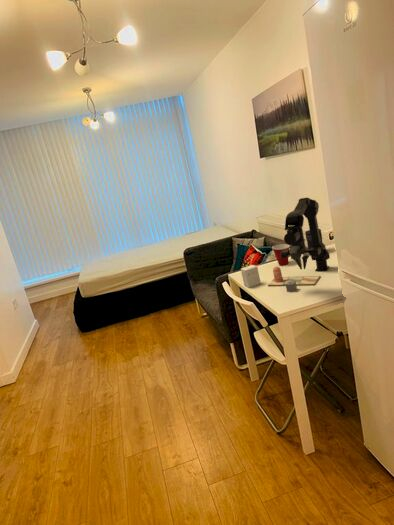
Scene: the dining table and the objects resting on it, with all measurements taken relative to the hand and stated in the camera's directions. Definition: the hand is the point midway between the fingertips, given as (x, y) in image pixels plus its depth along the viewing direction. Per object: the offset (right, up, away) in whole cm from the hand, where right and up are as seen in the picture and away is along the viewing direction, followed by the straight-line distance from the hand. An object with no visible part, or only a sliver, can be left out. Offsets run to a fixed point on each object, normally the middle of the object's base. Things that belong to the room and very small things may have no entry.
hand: (303, 269), depth 190 cm
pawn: (-7, -7, +22) cm, 25 cm away
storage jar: (+25, +9, +58) cm, 64 cm away
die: (-4, -11, +7) cm, 13 cm away
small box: (-21, -10, +28) cm, 36 cm away
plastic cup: (+2, +2, +52) cm, 52 cm away
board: (0, -7, +18) cm, 19 cm away
